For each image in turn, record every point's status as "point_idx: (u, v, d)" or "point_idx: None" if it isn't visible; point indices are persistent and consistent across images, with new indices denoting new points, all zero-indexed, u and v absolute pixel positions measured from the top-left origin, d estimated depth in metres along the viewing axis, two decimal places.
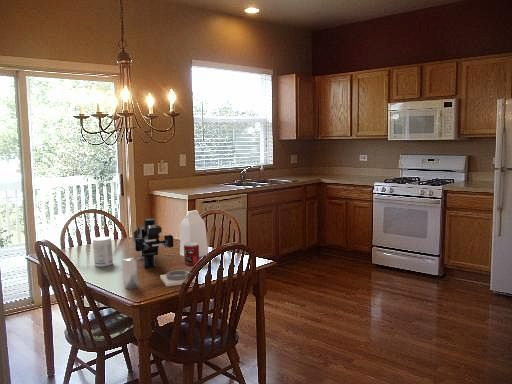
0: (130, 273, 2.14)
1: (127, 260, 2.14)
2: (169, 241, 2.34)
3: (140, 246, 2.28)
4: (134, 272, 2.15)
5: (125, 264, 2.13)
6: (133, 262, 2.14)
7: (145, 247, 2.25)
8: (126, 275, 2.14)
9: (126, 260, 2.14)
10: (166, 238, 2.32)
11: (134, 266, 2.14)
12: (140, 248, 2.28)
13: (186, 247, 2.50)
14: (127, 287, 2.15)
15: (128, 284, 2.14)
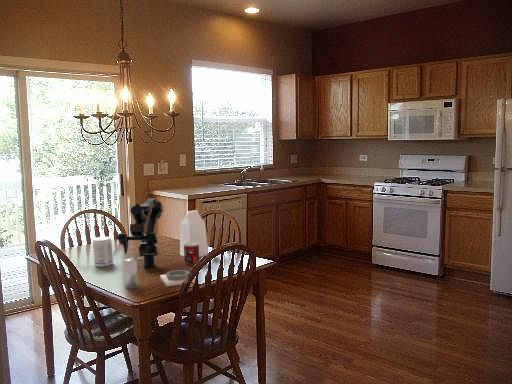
0: (130, 273, 2.14)
1: (127, 260, 2.14)
2: (151, 241, 2.27)
3: (123, 242, 2.28)
4: (134, 272, 2.15)
5: (125, 264, 2.13)
6: (133, 262, 2.14)
7: None
8: (126, 275, 2.14)
9: (126, 260, 2.14)
10: (147, 240, 2.25)
11: (134, 266, 2.14)
12: (123, 243, 2.29)
13: (186, 247, 2.50)
14: (127, 287, 2.15)
15: (128, 284, 2.14)
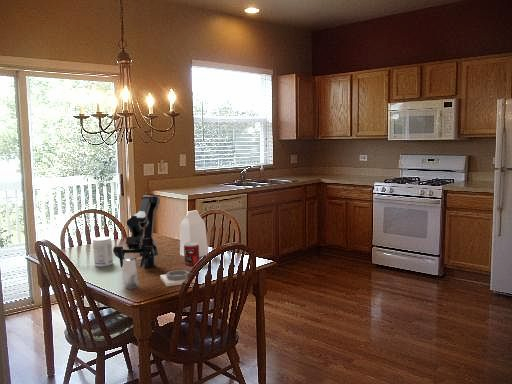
0: (130, 273, 2.14)
1: (127, 260, 2.14)
2: (148, 254, 2.21)
3: (119, 255, 2.22)
4: (134, 272, 2.15)
5: (125, 264, 2.13)
6: (133, 262, 2.14)
7: None
8: (126, 275, 2.14)
9: (126, 260, 2.14)
10: (144, 253, 2.19)
11: (134, 266, 2.14)
12: (119, 256, 2.23)
13: (186, 247, 2.50)
14: (127, 287, 2.15)
15: (128, 284, 2.14)
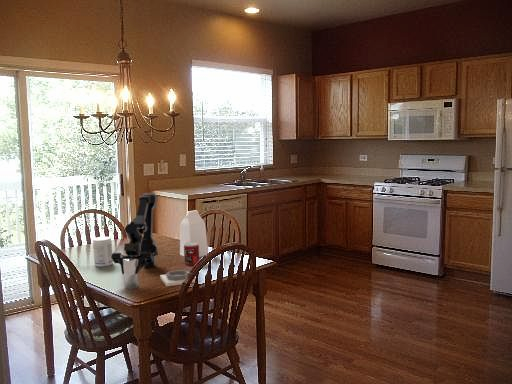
0: (129, 273, 2.14)
1: (127, 260, 2.14)
2: (144, 261, 2.19)
3: (120, 262, 2.20)
4: (134, 272, 2.15)
5: (125, 264, 2.13)
6: (133, 262, 2.14)
7: (122, 270, 2.17)
8: (126, 275, 2.14)
9: (126, 260, 2.14)
10: (139, 260, 2.17)
11: (134, 266, 2.14)
12: None
13: (186, 247, 2.50)
14: (127, 287, 2.15)
15: (128, 284, 2.14)
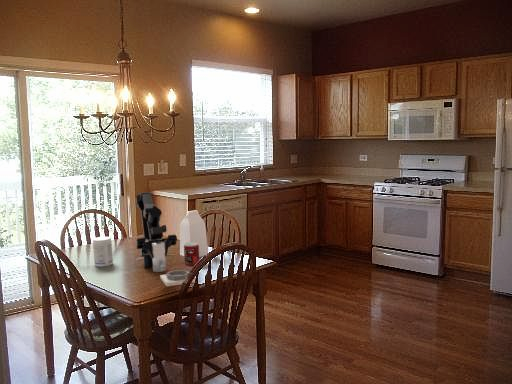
0: (161, 256, 2.17)
1: (157, 243, 2.17)
2: (169, 243, 2.23)
3: (145, 247, 2.20)
4: (164, 254, 2.18)
5: (156, 247, 2.16)
6: (164, 245, 2.17)
7: (150, 254, 2.18)
8: (157, 258, 2.16)
9: (156, 243, 2.17)
10: (166, 242, 2.21)
11: (164, 248, 2.18)
12: (144, 248, 2.21)
13: (186, 247, 2.50)
14: (158, 270, 2.17)
15: (160, 267, 2.17)
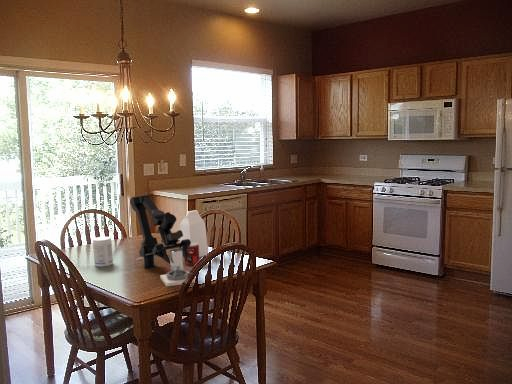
0: (180, 263, 2.23)
1: (176, 251, 2.22)
2: None
3: (159, 253, 2.23)
4: (182, 261, 2.25)
5: (176, 255, 2.21)
6: None
7: (166, 260, 2.22)
8: (177, 265, 2.22)
9: (175, 251, 2.22)
10: (185, 247, 2.28)
11: (182, 256, 2.25)
12: (159, 254, 2.23)
13: None
14: None
15: (180, 274, 2.23)
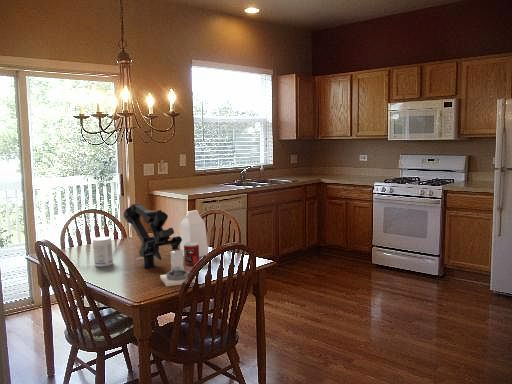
0: (181, 263, 2.23)
1: (176, 251, 2.23)
2: (177, 244, 2.38)
3: (151, 250, 2.30)
4: None
5: (177, 255, 2.21)
6: (182, 252, 2.24)
7: (157, 256, 2.29)
8: (178, 265, 2.22)
9: (175, 251, 2.22)
10: (176, 243, 2.36)
11: None
12: (150, 251, 2.30)
13: (186, 247, 2.50)
14: None
15: (180, 274, 2.23)
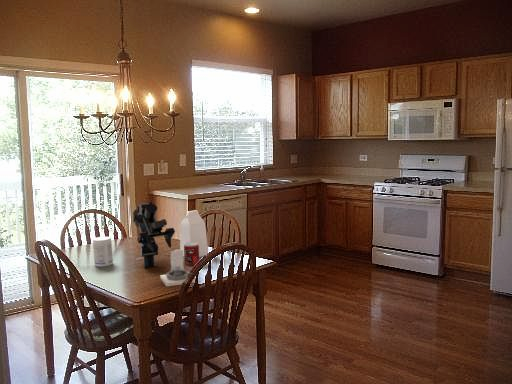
0: (181, 263, 2.23)
1: (176, 251, 2.23)
2: (170, 235, 2.39)
3: (144, 241, 2.31)
4: None
5: (177, 255, 2.22)
6: (182, 252, 2.24)
7: (150, 247, 2.30)
8: (178, 265, 2.22)
9: (175, 251, 2.22)
10: (169, 235, 2.37)
11: None
12: (143, 242, 2.32)
13: (186, 247, 2.50)
14: None
15: (180, 274, 2.23)
